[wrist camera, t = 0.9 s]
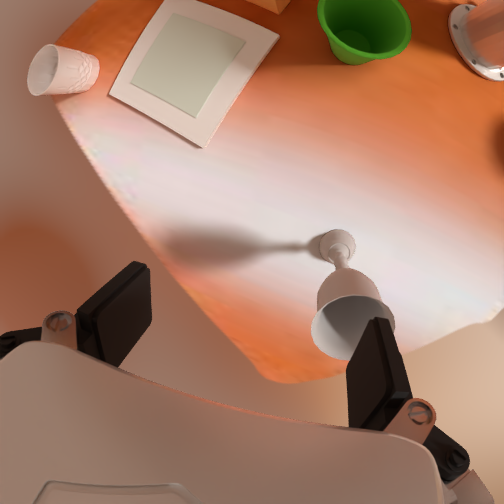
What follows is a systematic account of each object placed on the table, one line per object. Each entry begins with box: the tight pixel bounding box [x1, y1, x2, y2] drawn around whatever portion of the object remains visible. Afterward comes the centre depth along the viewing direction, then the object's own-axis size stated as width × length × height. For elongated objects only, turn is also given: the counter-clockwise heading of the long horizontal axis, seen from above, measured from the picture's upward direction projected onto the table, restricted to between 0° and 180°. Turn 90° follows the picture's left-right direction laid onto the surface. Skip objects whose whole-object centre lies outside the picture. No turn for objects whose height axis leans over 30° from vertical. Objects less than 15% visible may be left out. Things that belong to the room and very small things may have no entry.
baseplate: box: [109, 0, 280, 148], centre depth 31 cm, size 18×18×1 cm
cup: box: [317, 0, 412, 65], centre depth 22 cm, size 9×9×11 cm
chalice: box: [311, 229, 395, 360], centre depth 30 cm, size 7×7×18 cm
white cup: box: [27, 44, 100, 96], centre depth 29 cm, size 8×8×10 cm
